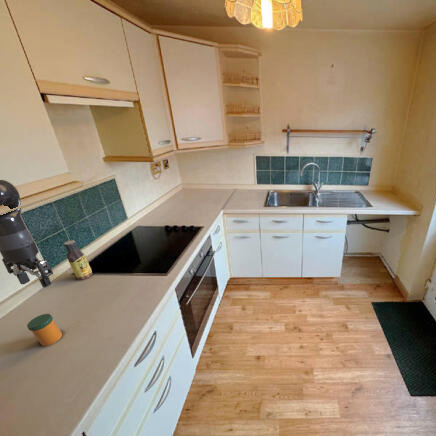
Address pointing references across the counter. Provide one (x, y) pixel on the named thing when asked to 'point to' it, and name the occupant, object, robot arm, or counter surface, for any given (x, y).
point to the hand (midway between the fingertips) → (36, 284)
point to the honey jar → (48, 334)
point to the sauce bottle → (77, 261)
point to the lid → (39, 322)
